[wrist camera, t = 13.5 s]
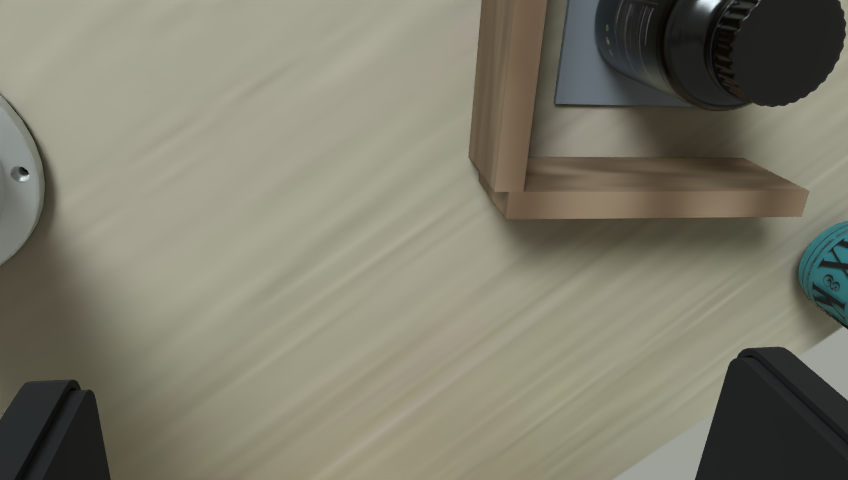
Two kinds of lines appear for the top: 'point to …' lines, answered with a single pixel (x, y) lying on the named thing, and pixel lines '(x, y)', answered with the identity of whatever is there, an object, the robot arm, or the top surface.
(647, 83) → the supplement bottle
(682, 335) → the top surface
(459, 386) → the top surface
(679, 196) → the wooden corner wall
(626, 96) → the mat
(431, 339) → the top surface
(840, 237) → the beverage bottle
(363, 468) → the top surface
